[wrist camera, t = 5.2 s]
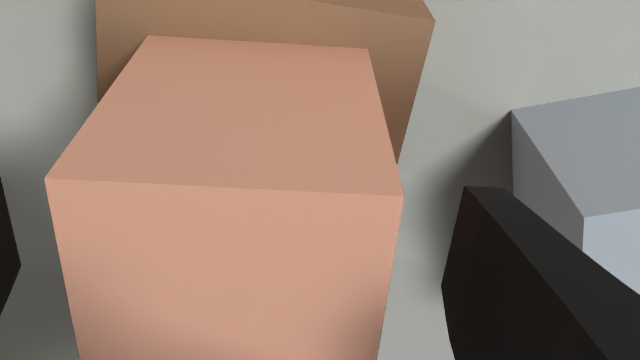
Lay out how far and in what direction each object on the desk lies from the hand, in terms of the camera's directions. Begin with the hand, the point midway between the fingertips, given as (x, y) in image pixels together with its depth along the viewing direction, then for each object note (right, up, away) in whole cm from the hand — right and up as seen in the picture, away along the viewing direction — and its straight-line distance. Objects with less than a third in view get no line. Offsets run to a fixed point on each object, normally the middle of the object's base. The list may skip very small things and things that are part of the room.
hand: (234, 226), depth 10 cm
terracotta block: (0, +2, +2) cm, 3 cm away
